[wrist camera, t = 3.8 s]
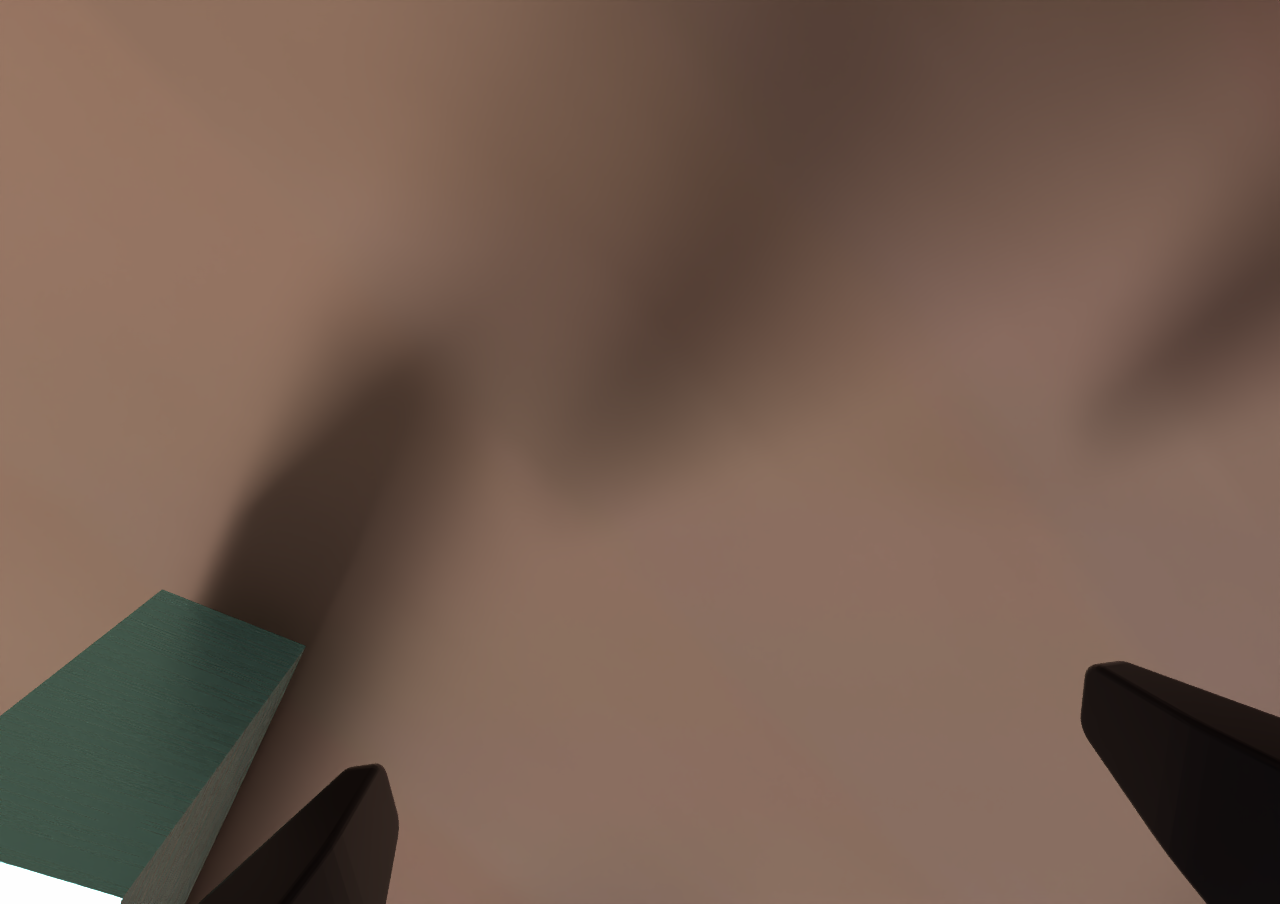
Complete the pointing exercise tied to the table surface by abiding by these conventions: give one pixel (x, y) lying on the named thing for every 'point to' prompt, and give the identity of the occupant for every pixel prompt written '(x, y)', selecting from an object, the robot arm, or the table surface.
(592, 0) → the table surface
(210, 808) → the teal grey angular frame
